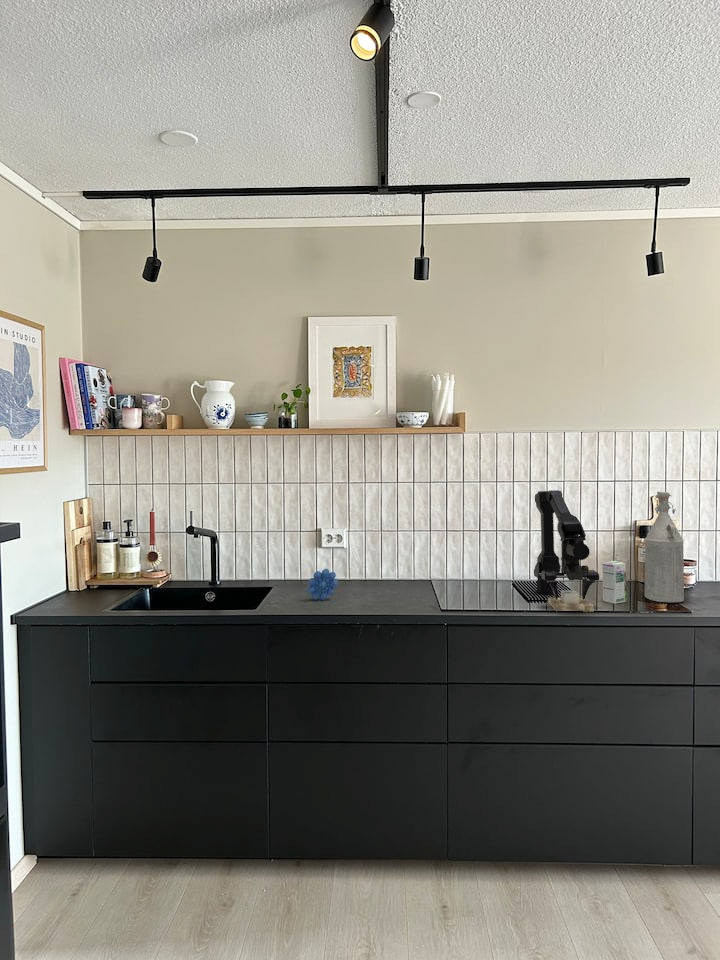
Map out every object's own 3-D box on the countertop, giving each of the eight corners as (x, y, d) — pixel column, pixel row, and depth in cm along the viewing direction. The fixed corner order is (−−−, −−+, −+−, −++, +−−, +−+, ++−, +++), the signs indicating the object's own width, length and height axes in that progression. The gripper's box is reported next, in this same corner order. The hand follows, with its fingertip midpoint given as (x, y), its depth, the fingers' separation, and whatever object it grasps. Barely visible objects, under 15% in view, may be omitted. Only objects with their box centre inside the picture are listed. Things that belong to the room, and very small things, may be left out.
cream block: (575, 605, 225) (575, 589, 225) (579, 609, 220) (579, 592, 220) (561, 605, 225) (560, 589, 225) (564, 609, 220) (564, 592, 220)
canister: (654, 604, 224) (654, 493, 223) (638, 594, 242) (638, 490, 240) (692, 604, 223) (692, 492, 222) (673, 594, 240) (673, 490, 239)
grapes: (337, 597, 245) (336, 566, 245) (338, 601, 238) (338, 569, 238) (307, 598, 244) (306, 567, 243) (307, 602, 237) (307, 570, 237)
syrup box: (615, 604, 226) (615, 563, 225) (602, 601, 231) (602, 561, 231) (626, 602, 229) (626, 562, 228) (613, 599, 234) (613, 560, 233)
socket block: (582, 603, 228) (582, 597, 228) (593, 611, 216) (593, 605, 216) (548, 603, 229) (547, 597, 229) (556, 611, 217) (556, 605, 217)
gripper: (548, 559, 214) (548, 605, 215) (604, 559, 213) (604, 604, 214) (540, 554, 225) (541, 597, 226) (594, 554, 224) (594, 597, 225)
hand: (570, 599), depth 222 cm, fingers open, 9 cm apart
